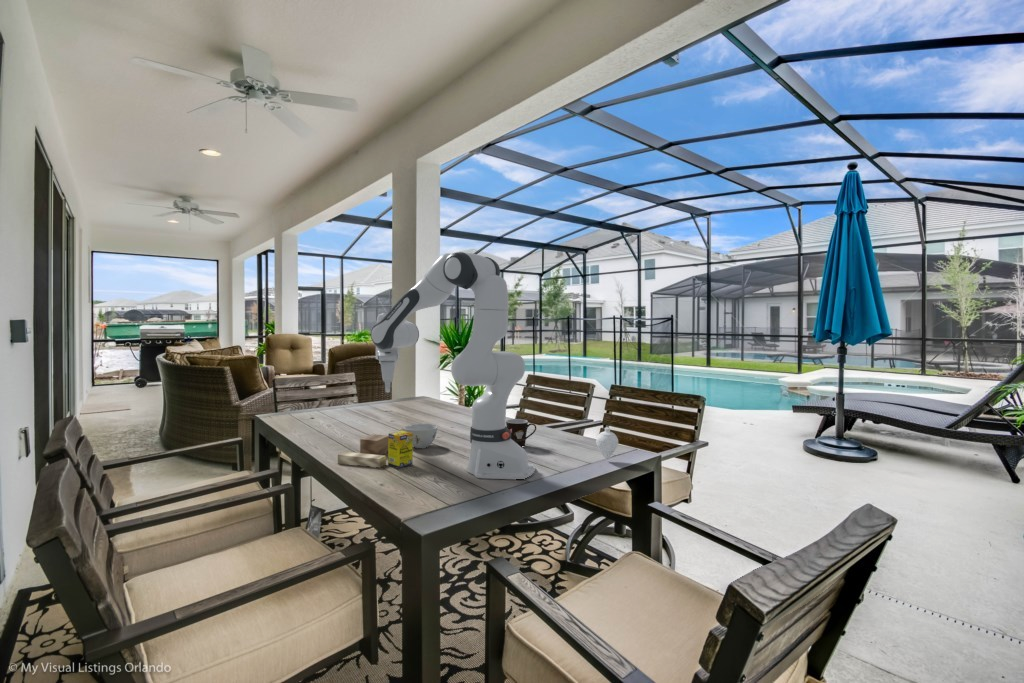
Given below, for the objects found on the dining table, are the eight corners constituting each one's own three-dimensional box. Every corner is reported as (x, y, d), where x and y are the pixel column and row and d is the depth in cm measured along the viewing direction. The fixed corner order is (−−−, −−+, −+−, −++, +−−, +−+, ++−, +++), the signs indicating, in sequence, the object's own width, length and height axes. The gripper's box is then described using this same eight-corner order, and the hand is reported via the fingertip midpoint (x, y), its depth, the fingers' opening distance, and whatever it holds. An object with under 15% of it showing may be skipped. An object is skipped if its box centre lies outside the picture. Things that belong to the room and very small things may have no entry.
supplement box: (399, 468, 154) (399, 436, 154) (387, 465, 158) (387, 433, 157) (413, 464, 159) (413, 432, 158) (401, 461, 162) (401, 430, 162)
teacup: (442, 443, 187) (442, 423, 186) (431, 452, 174) (431, 430, 174) (406, 441, 189) (406, 421, 189) (393, 449, 177) (393, 428, 177)
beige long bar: (385, 464, 159) (385, 455, 158) (379, 467, 155) (379, 458, 155) (344, 460, 163) (344, 451, 163) (337, 463, 159) (337, 454, 159)
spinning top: (607, 466, 159) (608, 431, 159) (591, 460, 165) (591, 427, 165) (622, 462, 164) (623, 428, 163) (606, 457, 170) (606, 424, 169)
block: (389, 451, 175) (389, 435, 175) (377, 457, 167) (377, 440, 167) (372, 449, 177) (372, 434, 177) (360, 455, 169) (360, 439, 169)
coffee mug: (503, 448, 180) (504, 422, 179) (507, 443, 188) (508, 418, 188) (533, 450, 178) (534, 424, 178) (536, 444, 186) (536, 419, 186)
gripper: (379, 352, 188) (379, 386, 189) (379, 356, 169) (378, 394, 169) (395, 352, 190) (395, 386, 191) (396, 356, 170) (396, 394, 171)
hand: (387, 390), depth 180 cm, fingers open, 8 cm apart
